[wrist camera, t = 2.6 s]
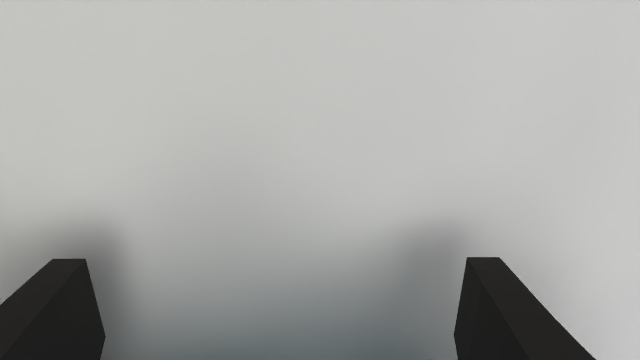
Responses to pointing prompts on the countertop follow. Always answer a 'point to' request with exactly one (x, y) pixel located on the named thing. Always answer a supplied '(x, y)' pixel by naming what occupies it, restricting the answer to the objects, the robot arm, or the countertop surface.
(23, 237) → the countertop surface
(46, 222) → the countertop surface
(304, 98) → the countertop surface
